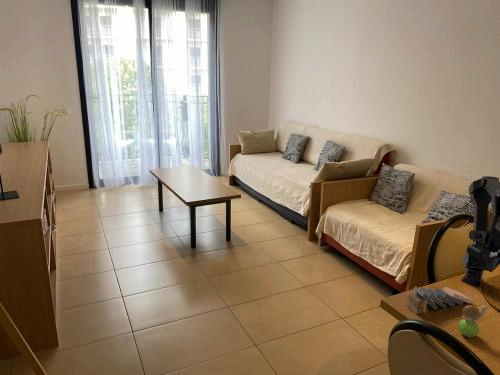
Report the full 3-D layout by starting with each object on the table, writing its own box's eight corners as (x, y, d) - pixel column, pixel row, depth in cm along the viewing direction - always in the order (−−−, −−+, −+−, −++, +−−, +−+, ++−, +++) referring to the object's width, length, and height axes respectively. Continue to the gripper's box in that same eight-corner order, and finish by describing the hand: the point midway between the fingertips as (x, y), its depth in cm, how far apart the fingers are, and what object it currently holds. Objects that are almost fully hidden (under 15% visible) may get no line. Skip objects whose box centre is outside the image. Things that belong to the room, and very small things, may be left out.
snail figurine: (483, 342, 113) (491, 308, 109) (460, 339, 114) (467, 305, 110) (476, 331, 118) (484, 297, 114) (454, 328, 119) (461, 295, 116)
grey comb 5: (429, 300, 132) (415, 286, 128) (438, 307, 128) (424, 293, 124) (426, 303, 132) (412, 289, 128) (435, 310, 128) (421, 296, 124)
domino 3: (445, 296, 134) (429, 287, 130) (455, 303, 130) (438, 294, 126) (443, 299, 134) (427, 290, 130) (453, 307, 130) (436, 297, 126)
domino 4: (453, 295, 135) (436, 287, 131) (463, 302, 131) (446, 294, 127) (451, 298, 135) (434, 290, 131) (461, 305, 131) (444, 297, 127)
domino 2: (437, 298, 133) (422, 286, 129) (446, 305, 129) (431, 293, 125) (434, 301, 133) (419, 290, 129) (444, 308, 129) (428, 297, 125)
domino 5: (462, 293, 136) (444, 286, 132) (472, 300, 132) (454, 293, 128) (460, 296, 136) (442, 289, 132) (470, 303, 132) (452, 296, 128)
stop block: (414, 305, 130) (416, 292, 129) (423, 312, 126) (425, 300, 125) (406, 306, 130) (408, 294, 128) (415, 314, 126) (417, 301, 124)
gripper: (499, 218, 135) (490, 257, 140) (457, 223, 130) (449, 263, 134) (529, 230, 125) (519, 272, 129) (485, 236, 120) (475, 279, 124)
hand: (489, 271), depth 130 cm, fingers closed
